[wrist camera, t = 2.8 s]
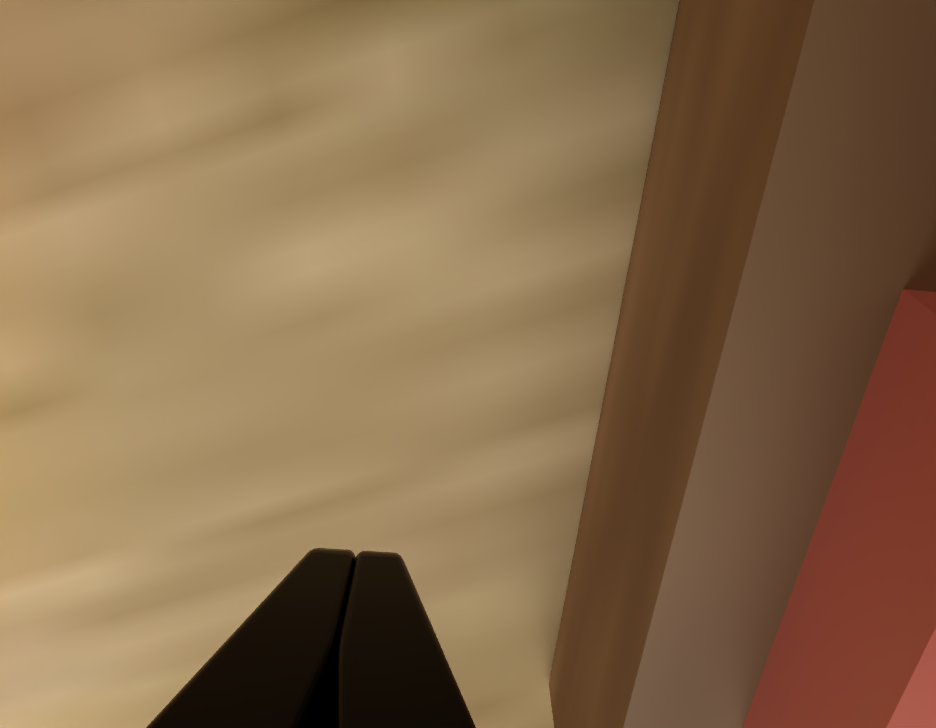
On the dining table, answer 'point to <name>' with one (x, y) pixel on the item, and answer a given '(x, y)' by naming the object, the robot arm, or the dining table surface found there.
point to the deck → (744, 343)
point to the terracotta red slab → (869, 560)
